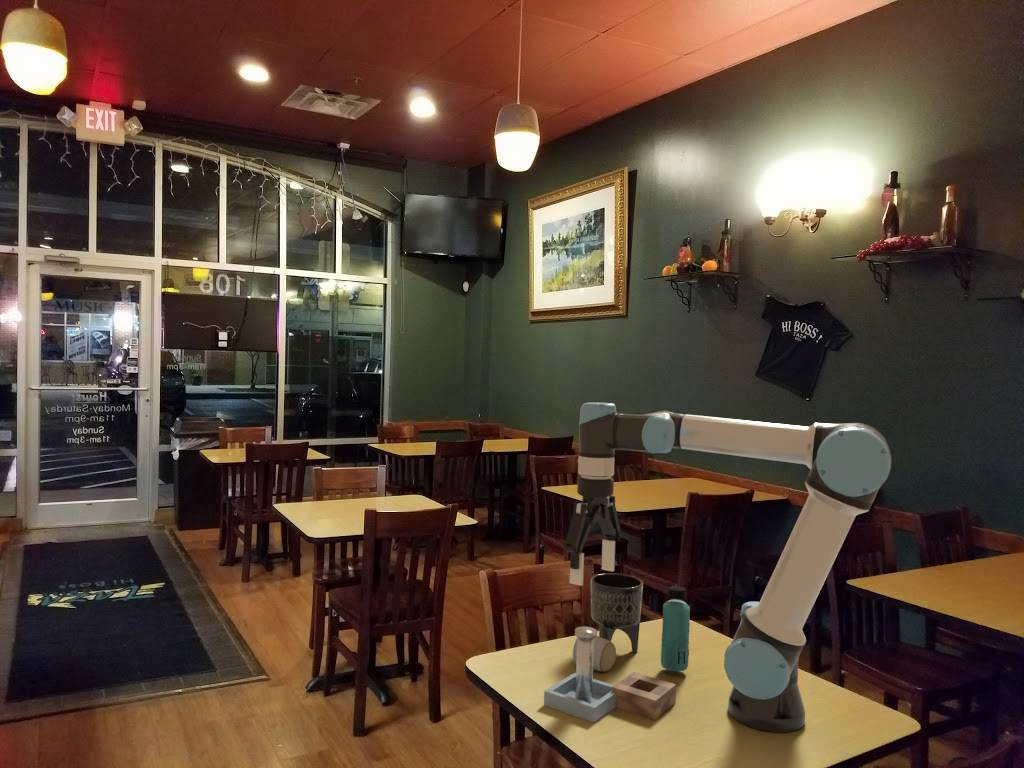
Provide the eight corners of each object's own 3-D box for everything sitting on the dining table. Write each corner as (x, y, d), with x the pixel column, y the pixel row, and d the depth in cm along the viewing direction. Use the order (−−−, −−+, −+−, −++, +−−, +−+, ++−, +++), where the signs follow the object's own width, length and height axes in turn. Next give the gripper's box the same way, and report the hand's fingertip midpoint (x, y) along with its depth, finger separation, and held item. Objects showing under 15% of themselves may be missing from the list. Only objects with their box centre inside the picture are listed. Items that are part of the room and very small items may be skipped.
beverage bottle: (676, 680, 175) (680, 593, 174) (653, 670, 180) (657, 586, 179) (694, 673, 179) (697, 588, 178) (671, 664, 184) (674, 581, 183)
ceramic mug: (601, 677, 175) (603, 644, 175) (571, 668, 180) (572, 635, 179) (623, 664, 183) (625, 632, 183) (594, 655, 188) (595, 624, 188)
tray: (622, 702, 163) (622, 688, 162) (593, 722, 153) (594, 708, 153) (573, 686, 170) (574, 672, 169) (543, 705, 160) (544, 690, 160)
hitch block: (675, 703, 163) (676, 684, 163) (654, 720, 155) (655, 700, 155) (633, 689, 169) (633, 671, 169) (611, 705, 161) (611, 686, 161)
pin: (598, 700, 162) (601, 630, 161) (587, 707, 158) (590, 636, 157) (579, 693, 164) (582, 625, 164) (568, 701, 161) (571, 630, 160)
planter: (627, 665, 182) (630, 591, 182) (579, 652, 189) (581, 581, 188) (648, 648, 193) (651, 579, 193) (601, 637, 200) (604, 570, 199)
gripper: (607, 468, 172) (604, 561, 173) (548, 481, 152) (545, 586, 153) (638, 471, 168) (635, 567, 169) (581, 485, 148) (578, 594, 148)
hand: (592, 577), depth 161 cm, fingers open, 13 cm apart
